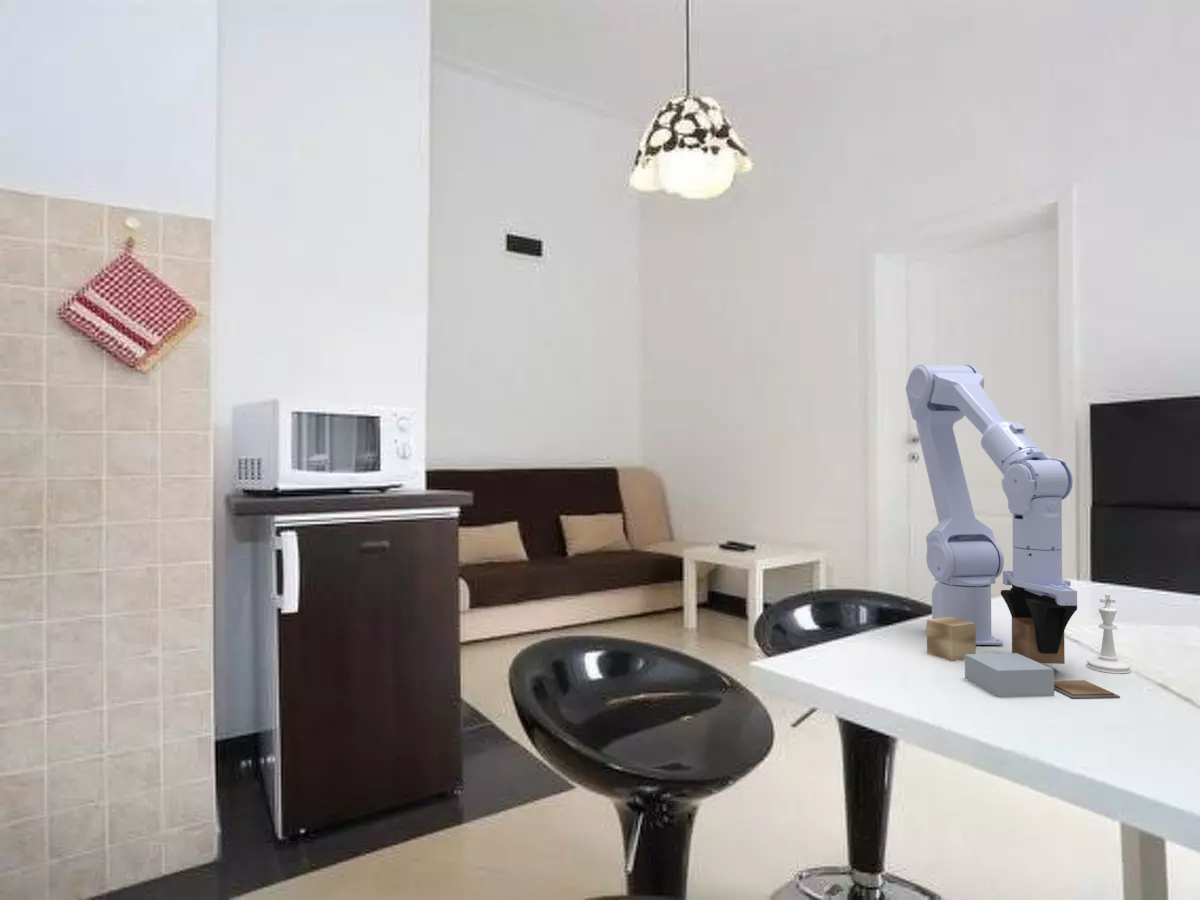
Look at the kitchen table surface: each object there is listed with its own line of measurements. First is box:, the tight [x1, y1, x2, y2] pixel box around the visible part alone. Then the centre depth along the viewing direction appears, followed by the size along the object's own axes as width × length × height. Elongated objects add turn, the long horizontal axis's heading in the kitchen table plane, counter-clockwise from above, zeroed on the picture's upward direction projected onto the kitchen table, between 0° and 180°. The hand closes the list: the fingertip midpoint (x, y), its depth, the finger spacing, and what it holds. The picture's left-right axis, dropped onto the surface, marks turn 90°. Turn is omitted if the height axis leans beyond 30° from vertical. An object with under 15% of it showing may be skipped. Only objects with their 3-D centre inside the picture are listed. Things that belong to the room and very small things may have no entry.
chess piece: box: [1085, 593, 1132, 675], centre depth 97 cm, size 5×5×10 cm
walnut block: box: [1011, 617, 1066, 665], centre depth 97 cm, size 4×4×5 cm
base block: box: [964, 652, 1055, 698], centre depth 89 cm, size 7×7×4 cm
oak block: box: [926, 617, 977, 662], centre depth 103 cm, size 4×4×5 cm
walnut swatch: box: [1054, 679, 1121, 700], centre depth 88 cm, size 6×6×1 cm
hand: (1037, 647), depth 97 cm, fingers closed on walnut block, 4 cm apart
